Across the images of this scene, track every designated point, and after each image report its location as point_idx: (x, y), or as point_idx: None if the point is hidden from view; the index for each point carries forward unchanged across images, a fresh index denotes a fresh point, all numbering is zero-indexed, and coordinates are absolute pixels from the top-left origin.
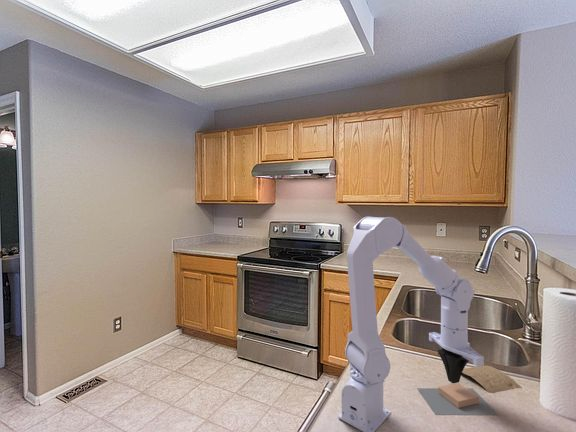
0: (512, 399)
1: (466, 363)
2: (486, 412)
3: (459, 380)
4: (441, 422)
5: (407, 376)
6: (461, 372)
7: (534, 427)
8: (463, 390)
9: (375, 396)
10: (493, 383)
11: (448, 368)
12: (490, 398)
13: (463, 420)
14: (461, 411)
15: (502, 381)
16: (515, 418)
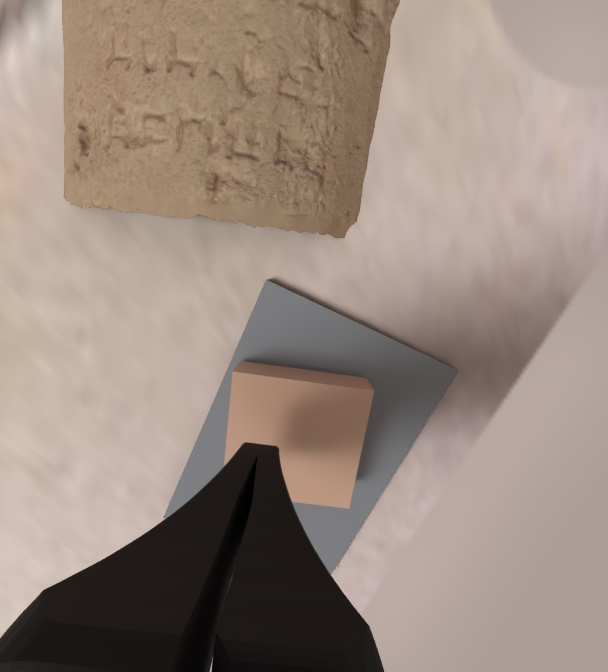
0: (419, 158)
1: (325, 573)
2: (418, 404)
3: (278, 453)
4: (358, 575)
5: (55, 467)
6: (285, 493)
7: (569, 303)
8: (299, 411)
9: None
10: (308, 133)
11: (227, 591)
12: (356, 265)
13: (389, 507)
14: (361, 486)
15: (320, 34)
16: (497, 315)
